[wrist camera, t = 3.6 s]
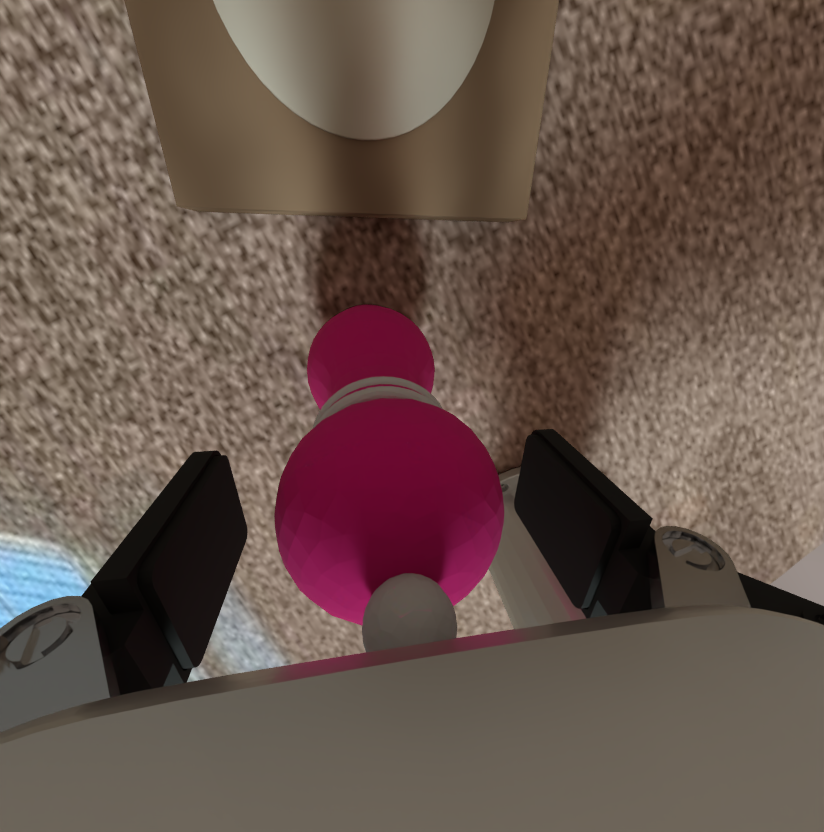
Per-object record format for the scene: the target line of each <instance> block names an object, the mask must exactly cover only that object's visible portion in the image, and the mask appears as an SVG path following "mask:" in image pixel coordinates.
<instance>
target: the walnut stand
mask: <svg viewBox="0 0 824 832" xmlns="http://www.w3.org/2000/svg"><path fill="white" fill-rule="evenodd" d="M124 1H125V4H126V8H127V12H128V16H129V20H130V24H131V28H132V32H133V36H134V40H135V44H136V48H137V52H138V56H139V59H140V63H141V67H142V71H143V75H144V79H145V83H146V87H147V91H148V95H149V99H150V103H151V107H152V111H153V115H154V118H155V122H156V126H157V130H158V134H159V138H160V142H161V146H162V150H163V154H164V158H165V162H166V166H167V170H168V174H169V177H170V181H171V185H172V189H173V193H174V197H175V201H176V205H177V207H181V208H185V209H190V210H194V211H198V212H223V213H252V214H282V215H311V216H340V217H369V218H399V219H428V220H457V221H486V222H512V221H518V220H524V219H527V212H528V205H529V198H530V192H531V185H532V178H533V171H534V165H535V158H536V151H537V145H538V138H539V131H540V124H541V118H542V111H543V104H544V97H545V91H546V84H547V77H548V71H549V64H550V57H551V50H552V44H553V37H554V30H555V23H556V17H557V10H558V3H559V0H124Z"/></svg>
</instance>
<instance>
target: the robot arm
mask: <svg viewBox="0 0 824 832" xmlns="http://www.w3.org/2000/svg"><path fill="white" fill-rule="evenodd" d="M498 476H499V480H500V484H501V489H502V493H503V502H504V525H503V530H502V535H501V540H500V543H499V547H498V550H497V552H496V555H495V557H494V559H493V561H492V563H491V565H490V567H489V571H490V573H491V576H492V578H493V580H494V583H495V585H496V588H497V590H498V592H499V595H500V597H501V599H502V602H503V604H504V607H505V609H506V611H507V614H508V616H509V618H510V621H511V623H512V626H513V628H514V629H513V630H507V631H500V632H494V633H487V634H481V635H475V636H468V637H462V638H456V639H449V640H443V641H436V642H430V643H424V644H417V645H411V646H405V647H398V648H392V649H386V650H379V651H373V652H367V653H361V654H354V655H348V656H342V657H336V658H330V659H324V660H318V661H312V662H305V663H299V664H293V665H287V666H281V667H275V668H269V669H262V670H256V671H250V672H244V673H238V674H232V675H226V676H221V677H215V678H209V679H204V680H198V681H193V682H187V680H188V678H189V675H190V672H191V670H192V668H194V667H197V666H199V664H200V663H201V661H202V659H203V656H204V654H205V651H206V648H207V645H208V643H209V640H210V637H211V635H212V632H213V629H214V626H215V624H216V621H217V618H218V616H219V613H220V610H221V607H222V605H223V602H224V599H225V597H226V594H227V591H228V588H229V586H230V583H231V580H232V578H233V575H234V572H235V569H236V567H237V564H238V561H239V559H240V556H241V553H242V550H243V548H244V545H245V542H246V539H247V525H246V522H245V518H244V514H243V511H242V507H241V503H240V500H239V496H238V493H237V489H236V485H235V482H234V478H233V474H232V471H231V467H230V464H229V460H228V458H227V456H225V455H221V454H220V453H219V451H203V452H193V453H192V454H191V455H190V457H189V458H188V459H187V460H186V462H185V463H184V464H183V465H182V467H181V468H180V469H179V471H178V472H177V473H176V474H175V476H174V477H173V478H172V479H171V481H170V482H169V483H168V484H167V486H166V487H165V488H164V490H163V491H162V492H161V493H160V495H159V496H158V497H157V498H156V500H155V501H154V502H153V503H152V505H151V506H150V507H149V509H148V510H147V511H146V512H145V514H144V515H143V516H142V517H141V519H140V520H139V521H138V522H137V524H136V525H135V526H134V527H133V529H132V530H131V531H130V533H129V534H128V535H127V536H126V538H125V539H124V540H123V541H122V543H121V544H120V545H119V546H118V548H117V549H116V550H115V552H114V553H113V554H112V555H111V557H110V558H109V559H108V560H107V562H106V563H105V564H104V565H103V567H102V568H101V569H100V571H99V572H98V573H97V574H96V576H95V577H94V578H93V579H92V581H91V584H90V586H89V587H88V588H87V590H86V591H85V592H84V593H83V595H82V596H66V597H61V598H57V599H53V600H50V601H47V602H45V603H43V604H40V605H38V606H35V607H33V608H31V609H30V610H28V611H26V612H24V613H22V614H21V615H19V616H17V617H15V618H14V619H13V620H11V621H10V622H9V623H7V624H6V625H4V626H3V627H2V628H0V832H824V606H822V605H819V604H816V603H814V602H812V601H809V600H807V599H804V598H801V597H799V596H797V595H794V594H791V593H789V592H786V591H784V590H781V589H778V588H776V587H774V586H771V585H769V584H766V583H764V582H761V581H759V580H756V579H754V578H751V577H749V576H746V575H743V574H741V573H738V572H737V570H736V568H735V565H734V563H733V561H732V560H731V558H730V556H729V555H728V554H727V553H726V552H725V551H724V550H723V549H722V548H721V547H720V546H719V545H717V544H716V543H715V542H713V541H712V540H710V539H709V538H707V537H705V536H703V535H701V534H699V533H697V532H694V531H692V530H689V529H686V528H681V527H677V526H664V527H661V528H659V529H658V530H657V531H655V530H653V529H652V528H651V527H650V524H651V521H652V519H653V518H651V517H650V516H649V515H648V514H647V513H646V512H645V511H644V510H643V509H641V508H640V507H639V506H638V505H637V504H636V503H635V502H634V501H633V500H631V499H630V498H629V497H628V496H627V495H626V494H625V493H624V492H623V491H621V490H620V489H619V488H618V487H617V486H616V485H615V484H614V483H613V482H612V481H610V480H609V479H608V478H607V477H606V476H605V475H604V474H603V473H602V472H600V471H599V470H598V469H597V468H596V467H595V466H594V465H593V464H592V463H590V462H589V461H588V460H587V459H586V458H585V457H584V456H583V455H582V454H580V453H579V452H578V451H577V450H576V449H575V448H574V447H573V446H572V445H571V444H569V443H568V442H567V441H566V440H565V439H564V438H563V437H562V436H561V435H559V434H558V433H557V432H556V431H555V430H553V429H546V430H535V431H533V432H532V434H531V435H529V436H528V437H527V439H526V444H525V449H524V453H523V458H522V463H521V467H519V468H515V469H511V470H509V471H507V472H504V473H502V474H499V475H498Z"/></svg>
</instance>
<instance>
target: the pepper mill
mask: <svg viewBox="0 0 824 832" xmlns="http://www.w3.org/2000/svg"><path fill="white" fill-rule="evenodd" d="M434 372H435V368H434V359H433V356H432V352H431V349H430V347H429V344H428V342H427V340H426V338H425V336H424V335H423V333H422V332H421V331H420V329H419V328H418V327H417V326H416V325H415V324H414V323H413V322H412V321H411V320H410V319H408V318H407V317H405V316H404V315H403V314H401V313H399V312H397V311H395V310H392V309H389V308H385V307H381V306H378V305H367V304H366V305H357V306H354V307H351V308H348V309H346V310H345V311H343V312H341V313H339V314H337V315H335V316H334V317H332V318H331V319H330V320H329V321H328V322H326V323H325V324H324V326H323V327H322V328H321V329H320V330H319V332H318V333H317V335H316V336H315V338H314V340H313V342H312V345H311V348H310V351H309V356H308V365H307V374H308V383H309V386H310V390H311V393H312V395H313V397H314V399H315V401H316V403H317V405H318V407H319V408H320V411H319V413H318V415H317V417H316V420H315V423H314V425H313V429H312V430H311V431H310V432H309V433H308V434H307V435H306V436H304V437H303V438H302V440H301V441H300V443H299V444H298V445H297V447H296V448H295V450H294V451H293V453H292V454H291V456H290V458H289V461H288V463H287V465H286V467H285V469H284V471H283V473H282V476H281V479H280V483H279V487H278V493H277V498H276V506H275V530H276V537H277V542H278V547H279V552H280V555H281V557H282V560H283V563H284V565H285V568H286V569H287V571H288V572H289V574H290V575H291V577H292V579H293V580H294V582H295V583H296V585H297V586H298V588H299V590H300V591H301V592H303V593H304V594H305V595H306V596H307V597H308V598H309V599H310V600H312V601H313V602H314V603H316V604H317V605H318V606H320V607H321V608H322V609H324V610H325V611H326V612H328V613H329V614H331V615H332V616H335V617H338V618H341V619H344V620H347V621H350V622H353V623H356V624H360V625H362V635H363V644H364V647H365V650H366V653H367V652H373V651H379V650H386V649H392V648H398V647H405V646H411V645H417V644H424V643H430V642H436V641H443V640H449V639H456V635H457V622H456V614H455V611H454V608H453V606H454V605H455V604H457V603H458V602H459V601H461V600H462V599H463V598H464V597H466V596H467V595H468V594H469V593H470V592H471V591H472V589H473V588H474V587H475V586H476V585H477V584H478V583H479V582H480V580H481V579H482V578H483V577H484V576H485V574H486V572H487V570H488V569H489V567H490V565H491V563H492V561H493V559H494V557H495V555H496V552H497V550H498V547H499V543H500V540H501V535H502V530H503V525H504V502H503V493H502V489H501V484H500V480H499V476H498V473H497V471H496V468H495V465H494V463H493V461H492V459H491V457H490V455H489V453H488V451H487V449H486V447H485V446H484V445H483V444H482V442H481V441H480V440H479V439H478V437H477V436H476V435H475V434H474V432H473V431H472V430H471V429H470V428H469V427H468V426H467V425H465V424H464V423H463V422H462V421H460V420H459V419H458V418H457V417H456V416H454V415H453V414H451V413H449V412H447V411H445V410H443V409H442V407H441V405H440V403H439V402H438V401H437V400H436V398H435V397H434V396H433V395H432V394H431V391H432V387H433V381H434Z"/></svg>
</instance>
